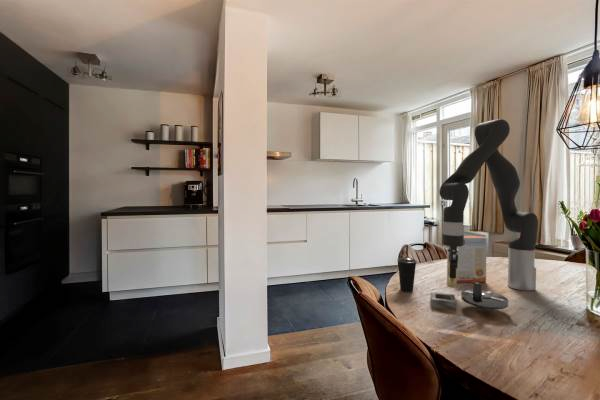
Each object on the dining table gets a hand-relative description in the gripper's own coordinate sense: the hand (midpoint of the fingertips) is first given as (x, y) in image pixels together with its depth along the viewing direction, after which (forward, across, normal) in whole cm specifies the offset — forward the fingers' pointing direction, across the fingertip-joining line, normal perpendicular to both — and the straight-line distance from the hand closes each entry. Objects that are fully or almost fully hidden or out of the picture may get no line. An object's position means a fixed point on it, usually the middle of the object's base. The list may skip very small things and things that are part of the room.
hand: (452, 276), depth 118 cm
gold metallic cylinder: (+4, 0, 0) cm, 4 cm away
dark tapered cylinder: (+9, +1, +17) cm, 19 cm away
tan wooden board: (+9, -11, -4) cm, 15 cm away
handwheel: (+5, -11, -9) cm, 15 cm away
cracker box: (+9, +28, -9) cm, 31 cm away
